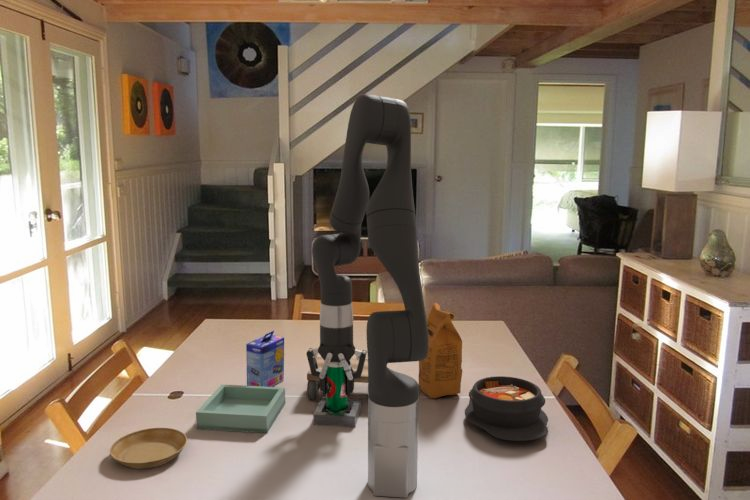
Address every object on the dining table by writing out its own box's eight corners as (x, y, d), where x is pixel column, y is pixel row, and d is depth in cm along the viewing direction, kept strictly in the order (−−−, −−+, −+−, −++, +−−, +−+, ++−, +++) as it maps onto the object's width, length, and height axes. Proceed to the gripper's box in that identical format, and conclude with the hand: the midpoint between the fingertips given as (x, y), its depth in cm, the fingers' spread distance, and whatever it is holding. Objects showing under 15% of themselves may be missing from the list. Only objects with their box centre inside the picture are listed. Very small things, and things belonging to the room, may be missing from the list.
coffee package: (449, 379, 168) (451, 300, 164) (465, 397, 156) (467, 312, 152) (413, 382, 166) (414, 301, 162) (426, 401, 154) (428, 314, 150)
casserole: (453, 401, 154) (453, 369, 152) (526, 398, 156) (527, 366, 154) (480, 451, 129) (481, 413, 128) (566, 447, 131) (569, 409, 130)
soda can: (345, 414, 141) (344, 364, 139) (323, 412, 142) (322, 362, 140) (350, 405, 146) (350, 356, 144) (329, 404, 147) (328, 355, 145)
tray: (266, 433, 137) (266, 416, 136) (196, 429, 138) (195, 412, 138) (285, 403, 152) (285, 387, 152) (222, 399, 154) (221, 384, 153)
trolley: (379, 406, 151) (379, 379, 149) (306, 402, 153) (305, 375, 151) (385, 383, 165) (385, 358, 163) (318, 380, 167) (317, 355, 165)
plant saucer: (200, 456, 127) (200, 444, 127) (128, 483, 117) (127, 470, 117) (168, 432, 138) (167, 421, 137) (99, 454, 128) (98, 443, 127)
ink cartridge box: (262, 393, 158) (261, 338, 156) (245, 389, 161) (243, 335, 158) (285, 380, 167) (284, 327, 165) (269, 376, 170) (267, 324, 167)
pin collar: (355, 427, 140) (355, 416, 139) (313, 424, 141) (313, 414, 140) (360, 409, 149) (360, 399, 149) (321, 407, 150) (321, 397, 150)
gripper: (301, 325, 138) (302, 398, 141) (366, 327, 136) (366, 401, 139) (308, 316, 145) (309, 386, 148) (370, 318, 144) (369, 388, 147)
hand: (337, 393), depth 144 cm, fingers closed on soda can, 5 cm apart
